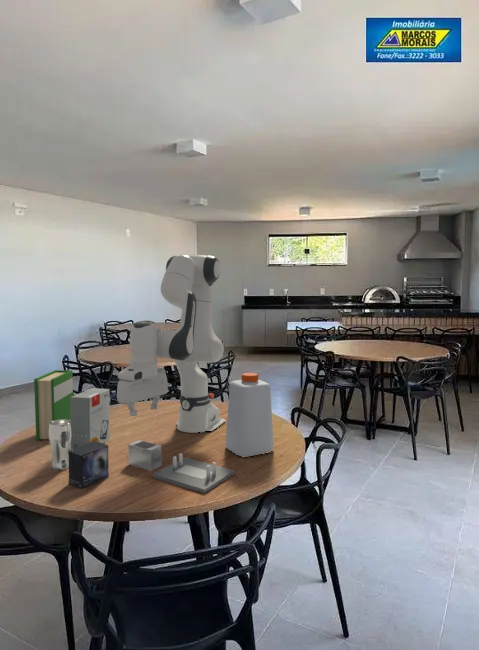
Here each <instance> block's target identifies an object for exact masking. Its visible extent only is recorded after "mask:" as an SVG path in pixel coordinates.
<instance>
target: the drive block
mask: <svg viewBox="0 0 479 650" xmlns="http://www.w3.org/2000/svg"><path fill="white" fill-rule="evenodd" d="M127 451H128V465H130V466H133V467H137V468H140V469H143V470H147V471H150V472H153V471H154V470H156V469H158V468H160V467H162V445H160V444H156V443H152V442H149V441H145V440H140V439H138V440H136V441H133V442H131V443H128V450H127Z"/></svg>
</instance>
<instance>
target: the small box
mask: <svg viewBox="0 0 479 650" xmlns="http://www.w3.org/2000/svg"><path fill="white" fill-rule="evenodd" d="M68 452H69V468H68V484H69V485H71V486H74V487H76V488H79V489H85V488H86V487H89V486H91V485H93V484H95V483H97V482H100V481H102V480H105V479H107V478H109V475H110V473H109V445H108V444H105V443H100V442H97V441H94V442H92V443H89V444H86V445H83V446H80V447H77V448H75V449H72V450H71V449H70V450H69V451H68Z"/></svg>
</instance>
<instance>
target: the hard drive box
mask: <svg viewBox="0 0 479 650" xmlns="http://www.w3.org/2000/svg"><path fill="white" fill-rule="evenodd" d="M70 404H71V429H72V440H71V447H70V450H72V449H75V448H77V447H80V446H83V445H86V444H89V443H92V442H94V441H97V442H100V443H103V444H105V443H106V442H107V441H109V440H110V436H111V434H110V432H111V431H110V426H111V425H110V424H111V423H110V389H109V388H97V387H96V388H94V387H93V388H89V389H87V390H84V391H82V392H80V393H78V394H75V395H74V394H73V396H72V397H71V398H70Z"/></svg>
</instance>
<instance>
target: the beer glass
mask: <svg viewBox="0 0 479 650" xmlns="http://www.w3.org/2000/svg"><path fill="white" fill-rule="evenodd" d="M48 440H49V441H48V442H49V446H50V451H51V470H53V471H65V470H69V452H68V451H69V450H71V440H72V429H71V421H70V420H66V419H61V420H55V421H52V422H50V423H49V439H48Z"/></svg>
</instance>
